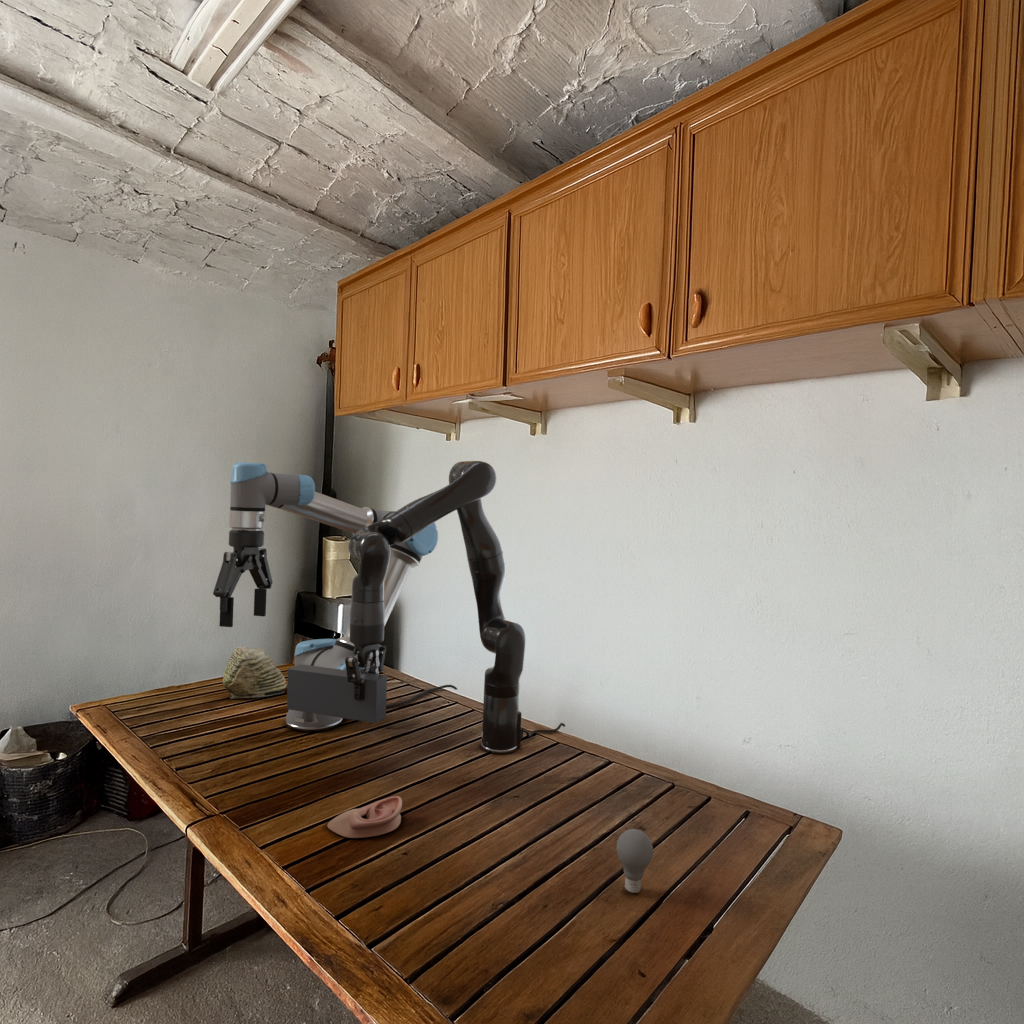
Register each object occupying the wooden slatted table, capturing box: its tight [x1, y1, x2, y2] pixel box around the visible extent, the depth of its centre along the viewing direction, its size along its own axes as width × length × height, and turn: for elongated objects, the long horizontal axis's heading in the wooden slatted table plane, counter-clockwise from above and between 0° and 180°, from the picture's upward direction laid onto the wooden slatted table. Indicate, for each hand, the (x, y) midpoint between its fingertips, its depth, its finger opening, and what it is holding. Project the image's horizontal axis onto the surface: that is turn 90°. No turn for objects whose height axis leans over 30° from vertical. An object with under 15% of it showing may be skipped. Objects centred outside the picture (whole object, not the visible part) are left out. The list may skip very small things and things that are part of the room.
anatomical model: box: [327, 795, 403, 839], centre depth 123 cm, size 13×4×12 cm
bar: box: [286, 664, 388, 724], centre depth 143 cm, size 23×4×9 cm, turn 72°
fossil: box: [222, 646, 288, 699], centre depth 198 cm, size 9×18×15 cm, turn 132°
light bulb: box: [615, 828, 654, 894], centre depth 106 cm, size 6×6×10 cm
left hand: (243, 621), depth 147 cm, fingers open, 13 cm apart
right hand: (365, 696), depth 141 cm, fingers closed on bar, 4 cm apart
